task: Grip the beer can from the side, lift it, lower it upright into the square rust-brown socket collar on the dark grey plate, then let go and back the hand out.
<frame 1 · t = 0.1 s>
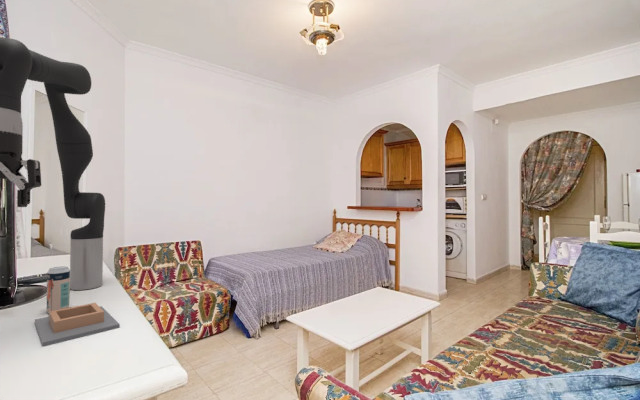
beer can: (58, 312, 86), on the table
socket plate: (76, 324, 77), on the table
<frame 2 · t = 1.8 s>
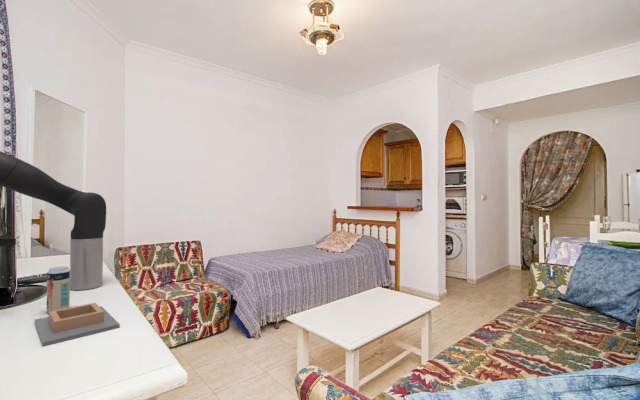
hand: (4, 243, 82), 19 cm above the table, tool horizontal, fingers open, 8 cm apart
nothing on the table moved.
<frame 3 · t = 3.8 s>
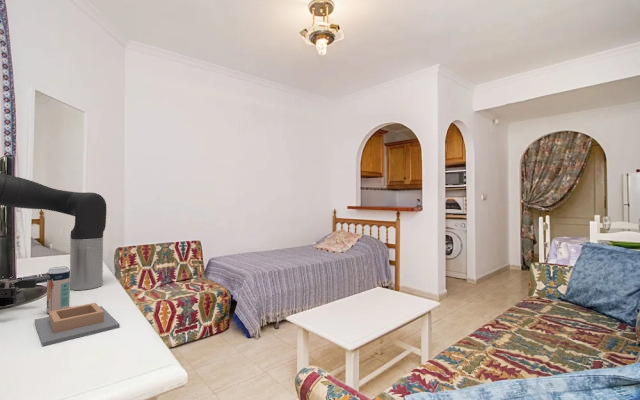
hand: (26, 287, 84), 7 cm above the table, tool horizontal, fingers open, 8 cm apart
nothing on the table moved.
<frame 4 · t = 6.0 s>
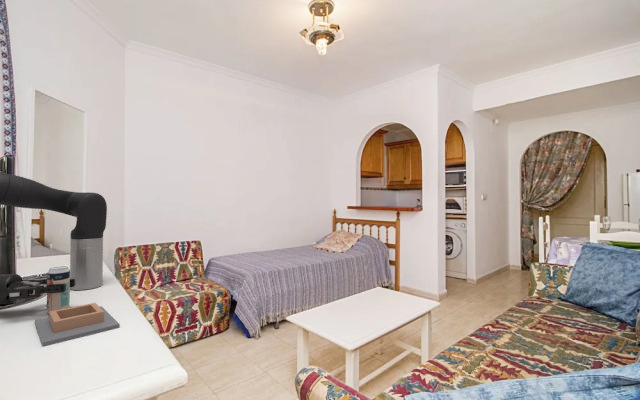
hand: (69, 285, 87), 7 cm above the table, tool horizontal, fingers closed on beer can, 4 cm apart
beer can: (58, 312, 86), on the table, touching gripper
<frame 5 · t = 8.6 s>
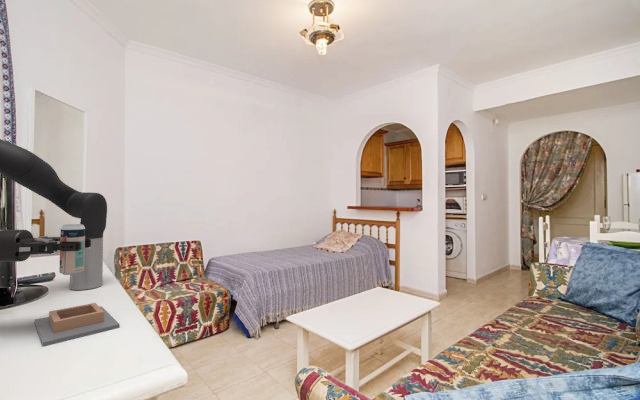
hand: (85, 244, 78), 20 cm above the table, tool horizontal, fingers closed on beer can, 4 cm apart
beer can: (71, 274, 77), point 12 cm above the table, touching gripper
when the fingers open (9 cm above the table, at t = 11.0 s): beer can stays where it is, resting on socket plate.
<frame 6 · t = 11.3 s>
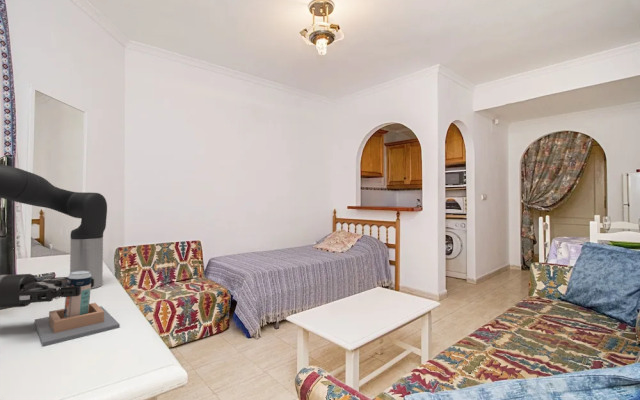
hand: (87, 286, 77), 9 cm above the table, tool horizontal, fingers open, 7 cm apart
beer can: (75, 321, 77), point 1 cm above the table, touching socket plate
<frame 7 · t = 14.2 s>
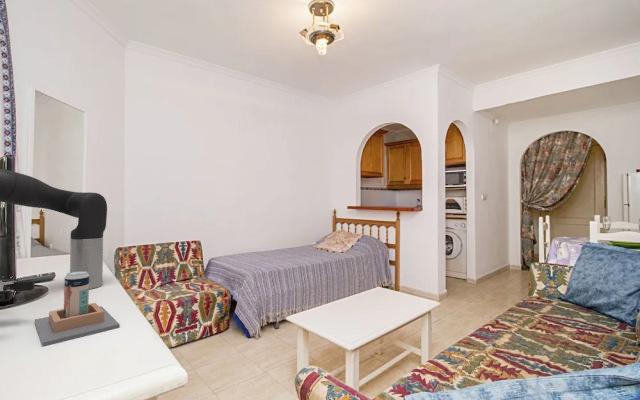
hand: (22, 290, 74), 9 cm above the table, tool horizontal, fingers open, 8 cm apart
nothing on the table moved.
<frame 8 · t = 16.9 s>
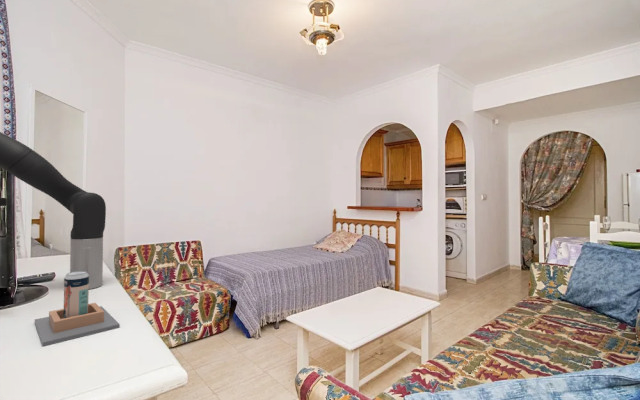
nothing on the table moved.
at the end: beer can 0.1 cm off-centre on the socket plate, point 0.6 cm above the socket plate's base; beer can tilted 0°; the gripper is holding nothing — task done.
